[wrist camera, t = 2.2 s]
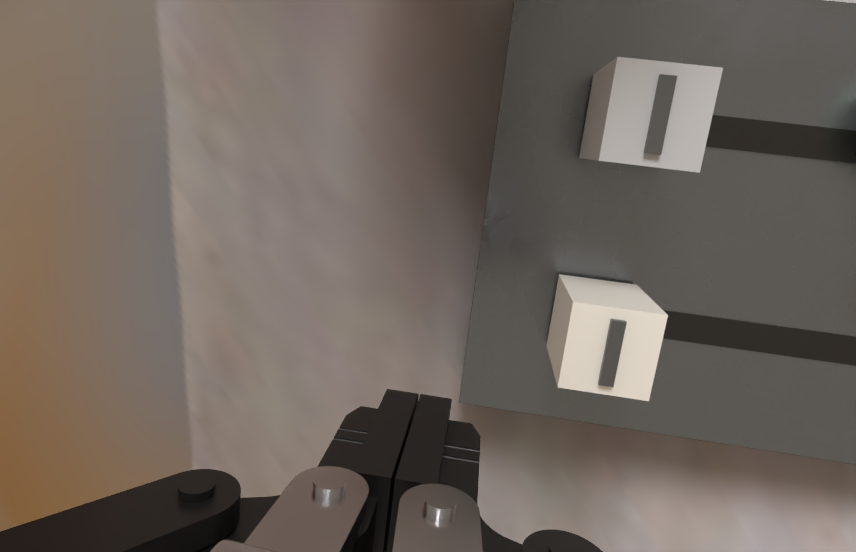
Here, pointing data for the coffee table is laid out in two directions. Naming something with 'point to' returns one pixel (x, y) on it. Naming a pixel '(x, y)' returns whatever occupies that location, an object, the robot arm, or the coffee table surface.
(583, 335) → the ivory slider
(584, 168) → the panel
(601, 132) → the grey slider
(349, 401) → the coffee table surface
